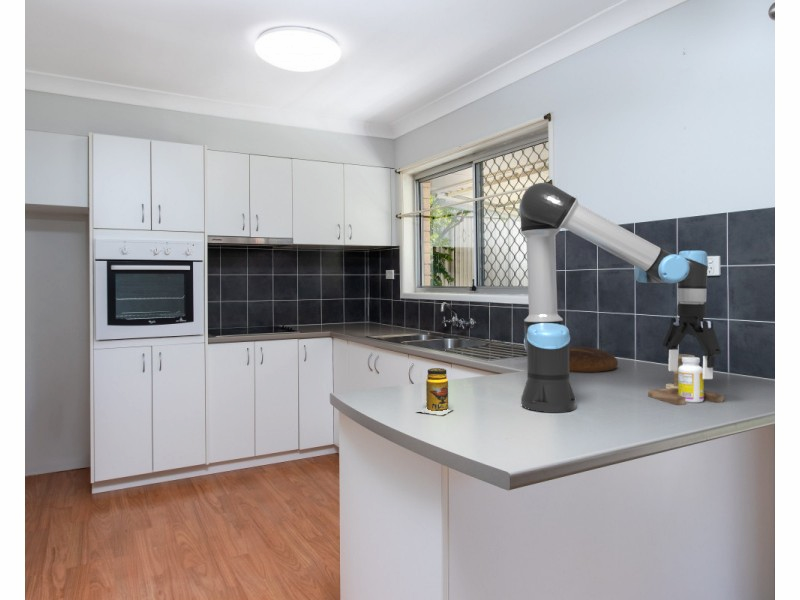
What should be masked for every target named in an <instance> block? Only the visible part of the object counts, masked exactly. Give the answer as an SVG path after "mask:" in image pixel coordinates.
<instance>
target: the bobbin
mask: <svg viewBox="0 0 800 600" xmlns="http://www.w3.org/2000/svg"><path fill="white" fill-rule="evenodd" d="M682 357H696V356H695V355H694V354H687V353H684V354H683V353H678V368H679V367H680V366H682V365H683V362H682ZM671 388H678V371H673V383H666V384H665V389H671Z"/></svg>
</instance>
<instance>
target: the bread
mask: <svg viewBox="0 0 800 600" xmlns="http://www.w3.org/2000/svg"><path fill="white" fill-rule="evenodd" d="M618 364H619V361H618V359H617V358H616V356H615V355H613V354H612V353H610V352H608V351H606V350H603V349H602V348H601V349H600V348H598V347H597V348H595V347H589V346H569V373H601V372H609V371H612V370H614V369H616V368H617V367H618Z"/></svg>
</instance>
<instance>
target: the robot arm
mask: <svg viewBox="0 0 800 600" xmlns="http://www.w3.org/2000/svg"><path fill="white" fill-rule="evenodd" d="M518 207H519V208H518V212H519V215H520V216H519V217H520V230H521V231H520V233H521V235H523V237H525V240H526V262H527V263H526V268H527V269H526V270H527V293H528V316H526V318H524V319H523V321H524V322H523V323H524V325H523V326H524V338H523V346H524V350H525V352H526V355H527V356H526V357H527V358H526V359H527V360H526V365H527V370H526V371H527V372H526V373H527V376H526V381H525V382H526V383H525V385H524V389H523V392H522V395H521V396H520V397H521V399H520V405H521V404H522V406H524V407H526V408H529V409H532V410H531V411H534V410H536V411H535V412H540V411H544V412H543V413H568V412H572V411H574V410H576V409H577V401H576V396H575V393H574V390H573V388H572V384H571V380H570V372H569V347H570V340H571V335H570V330H569V328H568V327H567V326H566V325H564V319H563V318H562V317H561V316H560V315H559V314H558V290H557V288H558V287H557V260H556V258H557V257H556V236H557V234H558V233H560V231H561V229H566V230H568V232H570V233H573V234H574V235H576V236H578V237H580V238H582V239H584V240H586V241H588V242H590V243H592V244H593V245H596V247H599V248H600V249H603V250H604V251H607V252H608V253H609V254H612V255H613V256H615V257H617V258H619V259H621V260H623V261H625V262H627V263H628V264H630V265H632V266H634V271H633V272H634V273H633V274H634V278H635V281H636V282H637V283H646V284H649V283H650V284H651V283H652V284H653V283H654V284H656V283H657V284H660V283H661V284H663V283H665V284H676V283H677V294H676V295H677V299H676V300H677V302H679V303H677V306H676V309H677V311H676V314H677V316H679V317H672V318H671V319H670V325H669V328H668V329H667V333H666V335H665V338H664V340H663V343H662V346H663V347H665V348H666V349H667V359H668V367H667V368H668V371H669V372H674V371H678V354H679V349H678V347H679V345H680V344H681V343H682V341H683V339H684V338H685V337H686V336H687V335H690V336H693V337H695V338H696V341H697V342H698V344H699V346H700V347H701V350H703V353H704V355H703V356H702V368H703V379H704V380H713V375H714V368H715V359H716V356H720V355H722V351H721V347H720V344H719V341H718V338H717V336H716V332H715V329H714V322H713V321H712V320H704V318H705V317H706V316H707V305H706V304H705V303H706V302H707V289H708V288H707V286H708V268H709V265H708V263H709V262H708V261H709V260H708V253H707V251H705V250H681V251H679V252H678V254H674V253H670V252H669V251H667V250H666V249H663V248H661V247H659V246H657V245H655V244H654V243H652V242H650V241H648V240H646V239H645V238H642V237H641V236H639V235H637V234H635V233H634V232H631V231H629V230H627V229H626V228H624V227H622V226H621V225H619V224H617V223H615V222H613V221H611V220H609V219H607V218H605V217H603V216H601V215H600V214H598V213H596V212H594V211H593V210H591V209H589V208H586V207H585V206H583V205H581V204H580V203H579V200H578V198H577V197H574V196H573V195H570V194H569V193H568V192H566V191H564V190H562V189H561V188H559V187H557V186H556V185H554V184H551V183H548V182H539V183H538V182H537V183H534V184H532V185H531V186H529V187H528V188H527V189H526V190H525V191H524V193H523V195H522V198H521V200H520V203H519V206H518ZM522 406H521V407H522ZM524 407H523V408H524ZM526 408H525V409H526ZM529 409H528V410H529Z"/></svg>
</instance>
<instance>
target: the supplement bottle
mask: <svg viewBox="0 0 800 600" xmlns="http://www.w3.org/2000/svg"><path fill="white" fill-rule="evenodd" d="M682 362H683V365H682V366H680V367H679V368H678V396H682V397H685V403H692V404H693V403H695V404H696V403H699V404H700V403H702V402H704V390H705V389H704V387H705V382H704V380H705V379H703V366H700V363H701V358H700V357H698V356H697V357H696V356H695V357H682Z"/></svg>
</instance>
